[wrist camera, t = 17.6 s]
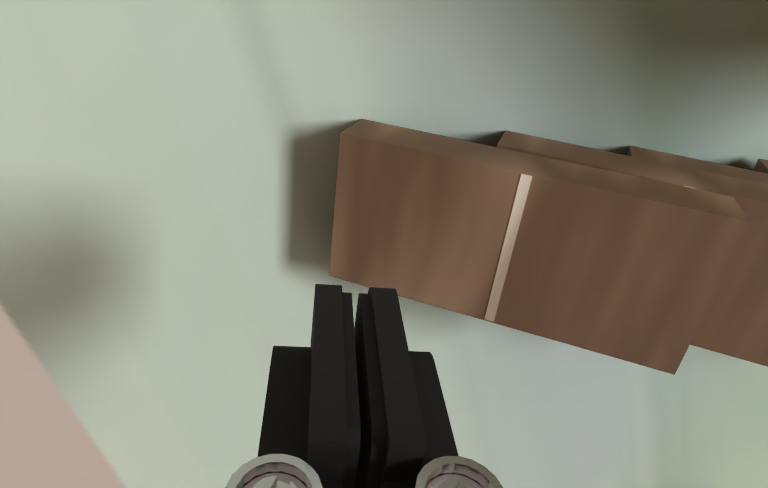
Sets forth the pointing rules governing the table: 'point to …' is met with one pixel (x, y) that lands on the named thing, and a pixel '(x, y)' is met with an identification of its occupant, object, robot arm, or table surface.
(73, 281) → the table surface
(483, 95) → the table surface
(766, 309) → the domino
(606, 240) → the domino
